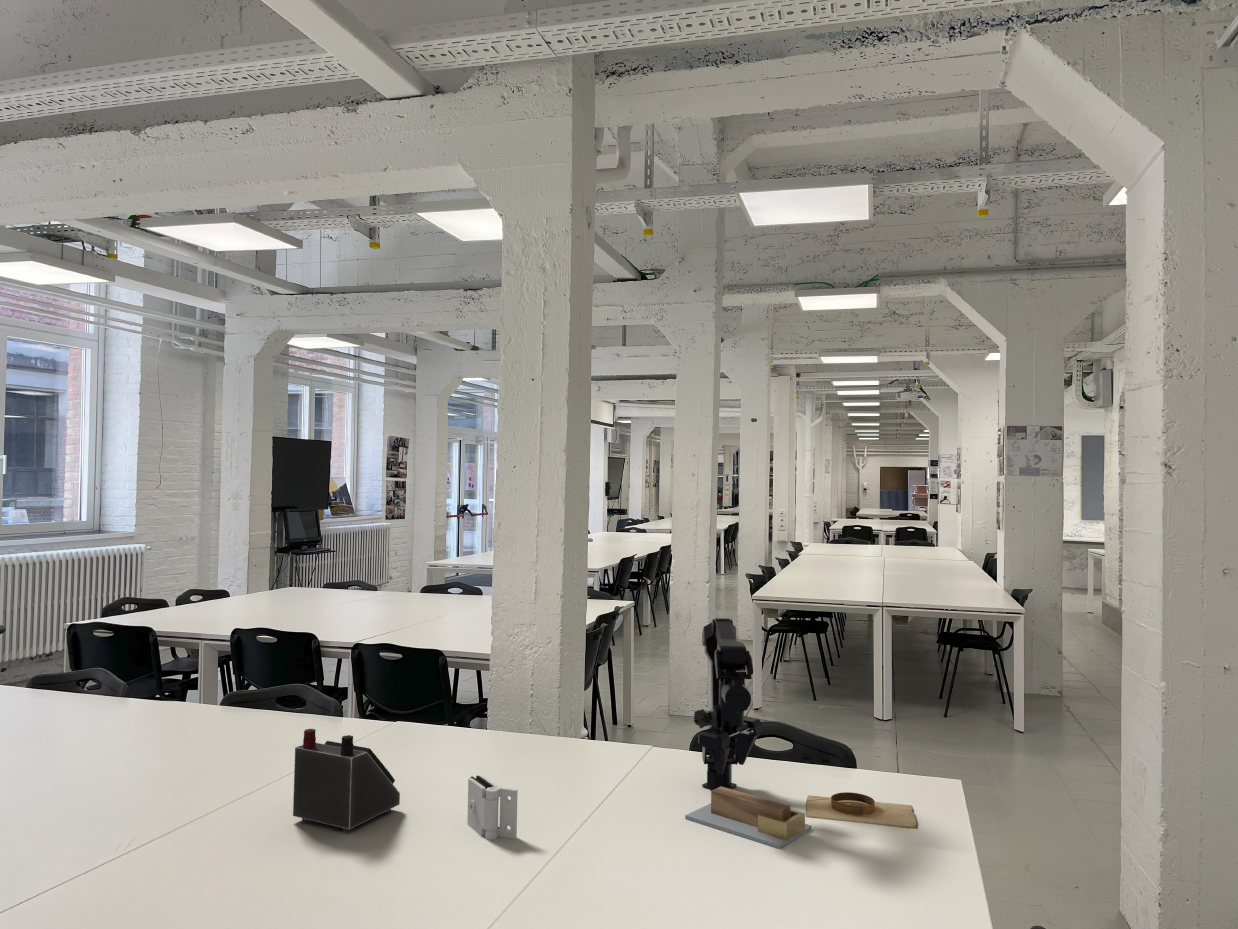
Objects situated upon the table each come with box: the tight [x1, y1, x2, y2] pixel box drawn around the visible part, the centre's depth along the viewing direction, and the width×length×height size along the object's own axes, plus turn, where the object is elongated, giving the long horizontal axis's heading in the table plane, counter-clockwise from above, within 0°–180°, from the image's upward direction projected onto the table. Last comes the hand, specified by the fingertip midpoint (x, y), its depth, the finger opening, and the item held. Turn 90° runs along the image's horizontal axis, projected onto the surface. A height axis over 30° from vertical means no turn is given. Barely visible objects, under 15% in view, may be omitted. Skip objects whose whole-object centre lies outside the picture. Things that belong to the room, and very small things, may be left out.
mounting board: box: [684, 802, 812, 850], centre depth 186 cm, size 14×24×1 cm, turn 50°
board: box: [805, 791, 919, 830], centre depth 195 cm, size 25×15×3 cm, turn 76°
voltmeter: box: [292, 728, 401, 833], centre depth 187 cm, size 16×16×20 cm
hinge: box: [466, 774, 519, 840], centre depth 179 cm, size 14×5×10 cm, turn 46°
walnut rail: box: [710, 787, 792, 827], centre depth 185 cm, size 4×18×5 cm, turn 50°
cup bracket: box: [758, 808, 806, 841], centre depth 180 cm, size 8×7×4 cm
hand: (730, 769), depth 190 cm, fingers open, 9 cm apart
